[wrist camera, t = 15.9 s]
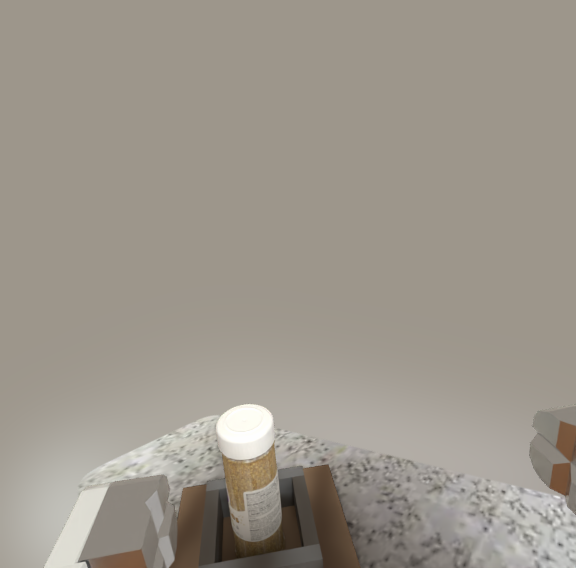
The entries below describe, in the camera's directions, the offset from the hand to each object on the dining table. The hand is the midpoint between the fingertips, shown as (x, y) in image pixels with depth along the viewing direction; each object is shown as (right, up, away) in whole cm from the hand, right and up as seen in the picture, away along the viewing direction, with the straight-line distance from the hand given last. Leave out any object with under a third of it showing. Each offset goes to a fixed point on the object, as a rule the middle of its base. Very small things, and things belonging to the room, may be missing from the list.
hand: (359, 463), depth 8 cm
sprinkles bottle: (-4, -20, +25) cm, 32 cm away
